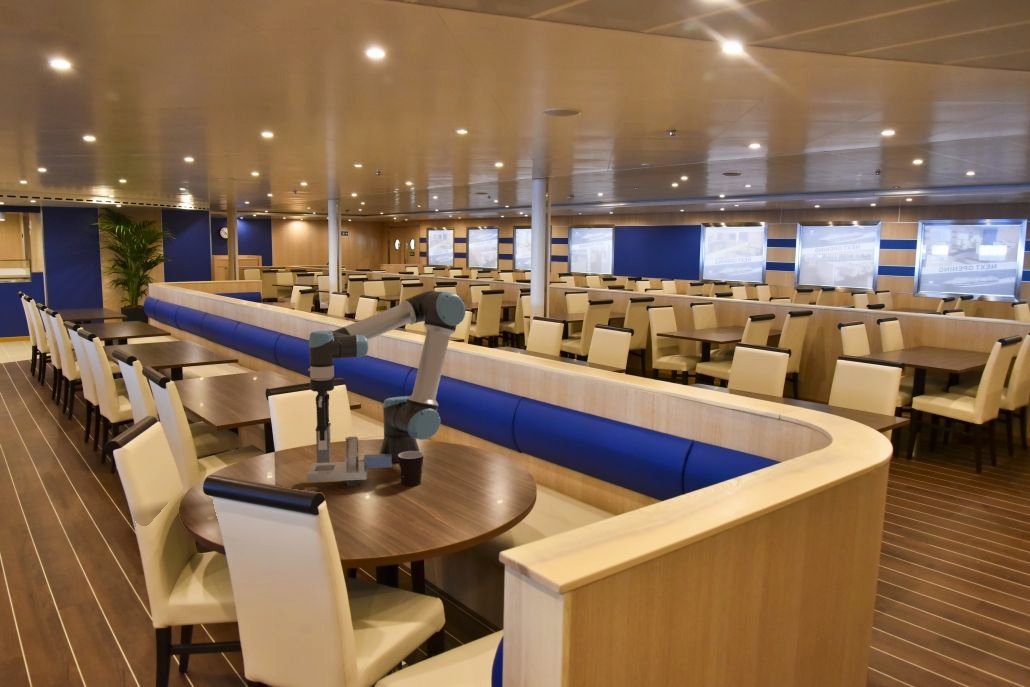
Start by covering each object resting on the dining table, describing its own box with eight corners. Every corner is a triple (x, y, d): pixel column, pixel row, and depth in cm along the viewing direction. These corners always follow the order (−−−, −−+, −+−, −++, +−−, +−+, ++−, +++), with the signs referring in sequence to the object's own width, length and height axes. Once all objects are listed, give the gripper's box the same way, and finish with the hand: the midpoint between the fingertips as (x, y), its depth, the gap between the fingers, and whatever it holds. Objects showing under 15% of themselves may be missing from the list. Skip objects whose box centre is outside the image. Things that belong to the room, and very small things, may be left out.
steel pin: (318, 459, 235) (317, 424, 234) (330, 458, 236) (330, 424, 234) (316, 462, 231) (316, 427, 230) (329, 462, 232) (328, 427, 230)
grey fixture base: (392, 477, 244) (391, 432, 241) (391, 488, 232) (390, 441, 230) (312, 480, 240) (311, 434, 238) (307, 492, 228) (305, 444, 226)
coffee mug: (419, 488, 232) (418, 459, 231) (394, 486, 234) (394, 457, 233) (430, 477, 244) (430, 449, 242) (406, 475, 245) (406, 448, 244)
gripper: (314, 373, 238) (315, 440, 241) (306, 383, 221) (308, 455, 224) (336, 373, 239) (338, 440, 242) (330, 383, 222) (332, 454, 225)
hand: (323, 447), depth 233 cm, fingers closed on steel pin, 4 cm apart
